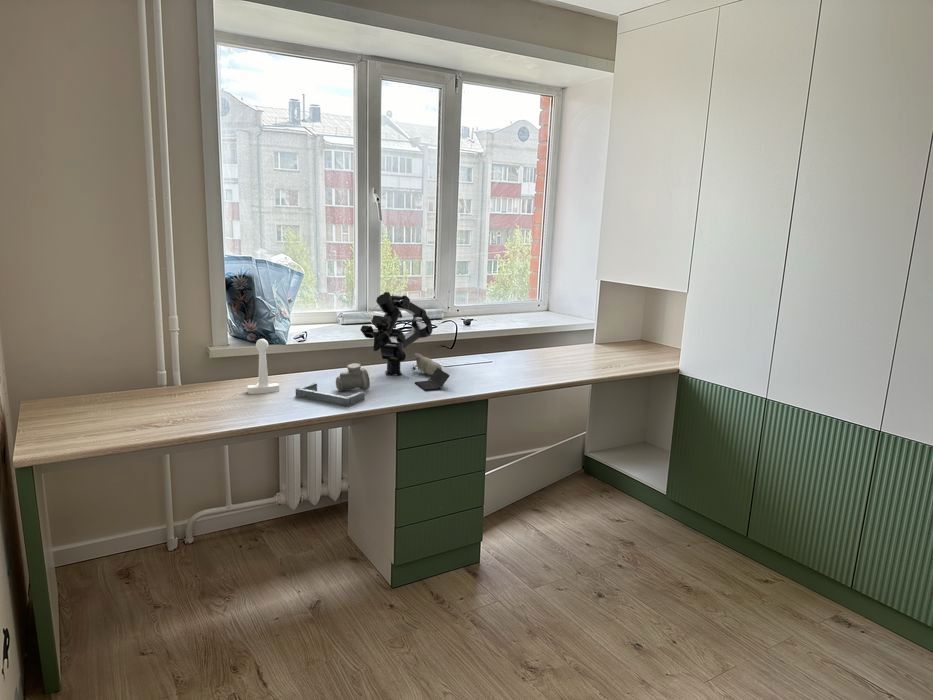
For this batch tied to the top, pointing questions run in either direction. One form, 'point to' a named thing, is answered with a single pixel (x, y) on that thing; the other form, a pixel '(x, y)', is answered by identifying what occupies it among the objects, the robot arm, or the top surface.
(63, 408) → the top surface
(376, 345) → the robot arm
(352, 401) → the duct bracket
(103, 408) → the top surface
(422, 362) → the decorative bird
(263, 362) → the joystick
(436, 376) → the handheld gaming console
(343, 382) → the pipe fitting
